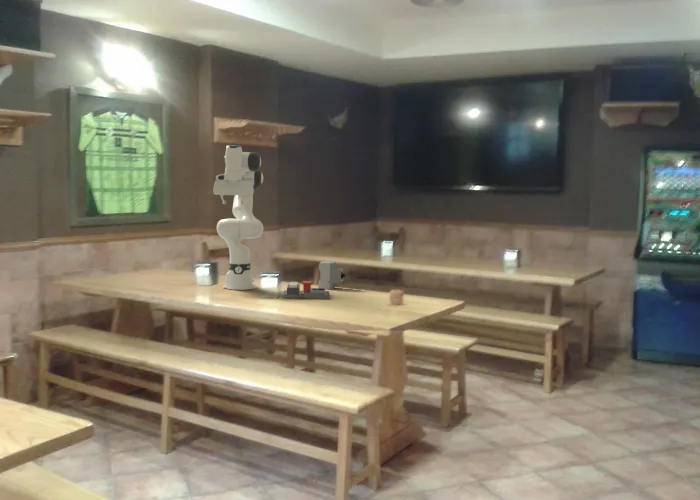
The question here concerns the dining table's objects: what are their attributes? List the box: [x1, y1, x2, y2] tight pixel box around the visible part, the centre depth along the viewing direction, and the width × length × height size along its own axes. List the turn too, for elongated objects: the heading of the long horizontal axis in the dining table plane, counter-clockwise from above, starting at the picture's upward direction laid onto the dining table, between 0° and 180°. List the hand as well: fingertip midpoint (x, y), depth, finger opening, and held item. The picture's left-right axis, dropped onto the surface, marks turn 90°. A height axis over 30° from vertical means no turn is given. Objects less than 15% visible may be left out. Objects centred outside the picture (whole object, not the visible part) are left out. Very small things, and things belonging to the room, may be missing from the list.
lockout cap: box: [302, 280, 313, 291], centre depth 374 cm, size 5×5×6 cm
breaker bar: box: [288, 281, 298, 288], centre depth 361 cm, size 11×4×3 cm, turn 3°
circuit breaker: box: [318, 260, 346, 290], centre depth 391 cm, size 8×14×15 cm, turn 78°
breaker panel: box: [282, 283, 330, 300], centre depth 361 cm, size 14×24×6 cm, turn 93°
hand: (233, 204), depth 349 cm, fingers open, 8 cm apart
